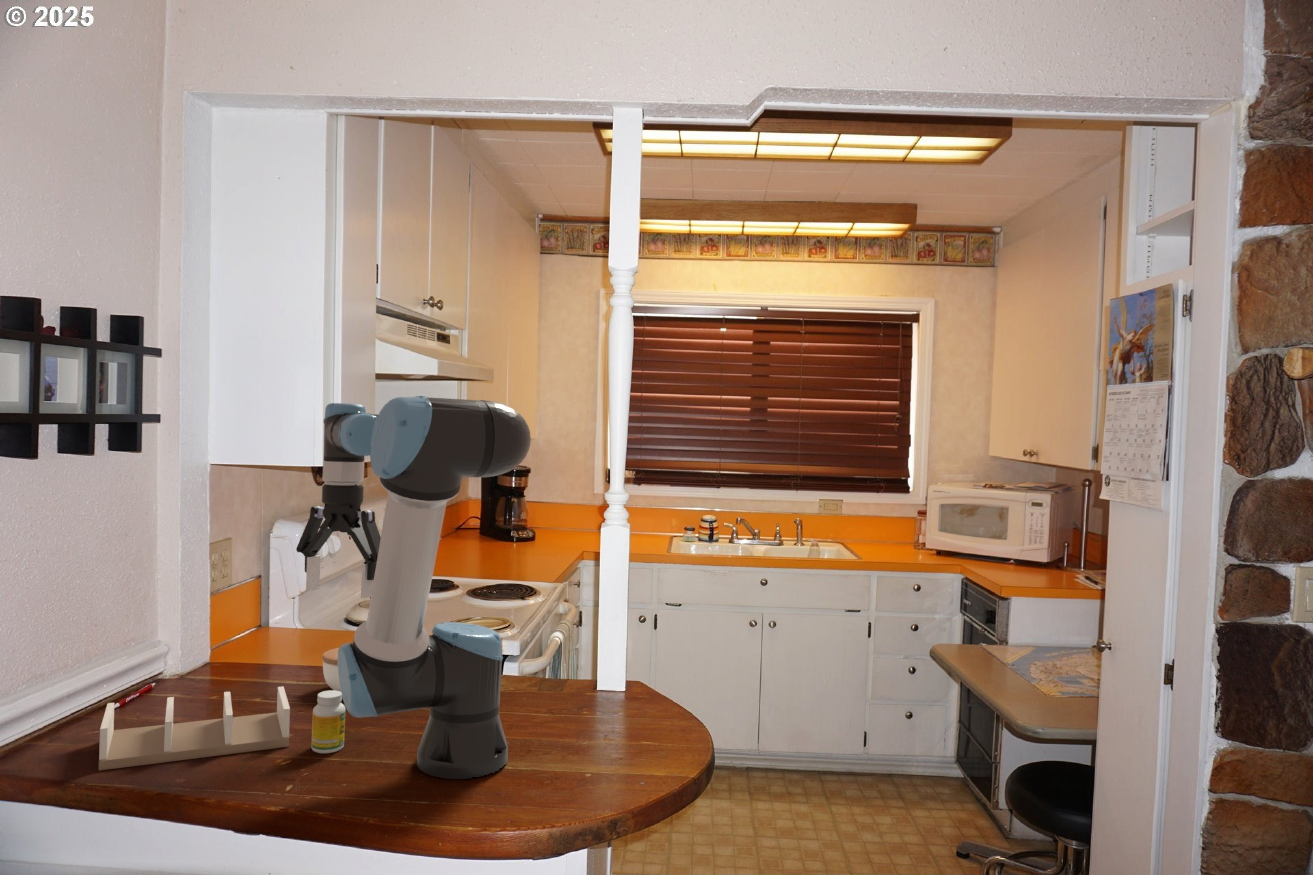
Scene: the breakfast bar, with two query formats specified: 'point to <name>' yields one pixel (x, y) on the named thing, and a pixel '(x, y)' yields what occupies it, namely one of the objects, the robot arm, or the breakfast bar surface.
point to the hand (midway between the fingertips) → (339, 593)
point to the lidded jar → (331, 669)
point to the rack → (193, 736)
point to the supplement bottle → (328, 722)
